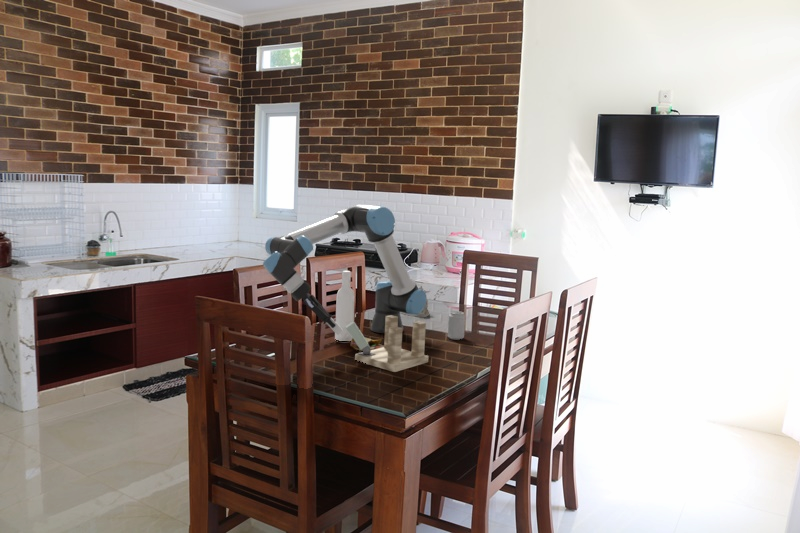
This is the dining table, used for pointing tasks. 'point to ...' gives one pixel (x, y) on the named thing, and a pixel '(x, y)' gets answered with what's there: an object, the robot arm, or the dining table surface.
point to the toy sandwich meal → (372, 343)
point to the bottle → (345, 307)
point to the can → (456, 325)
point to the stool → (397, 348)
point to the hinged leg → (358, 337)
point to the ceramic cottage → (423, 313)
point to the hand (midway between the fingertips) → (340, 332)
